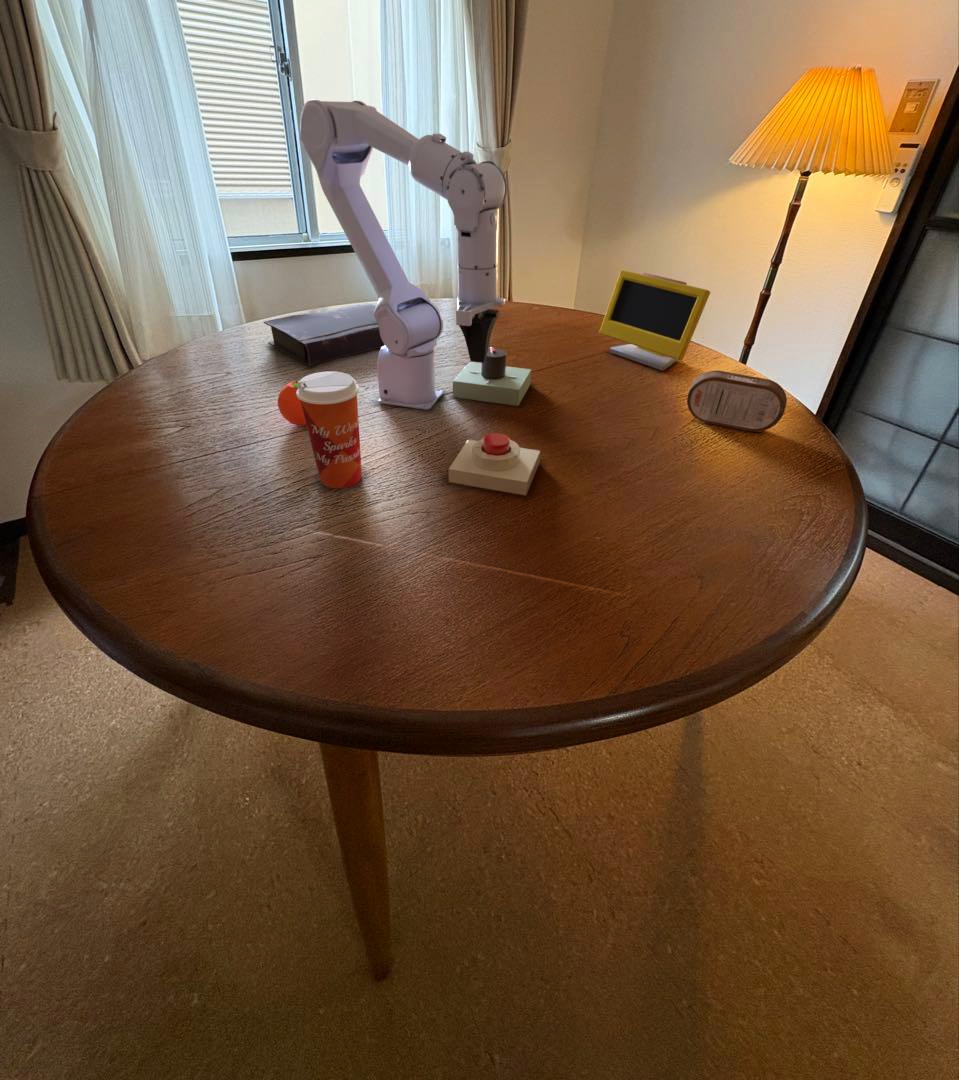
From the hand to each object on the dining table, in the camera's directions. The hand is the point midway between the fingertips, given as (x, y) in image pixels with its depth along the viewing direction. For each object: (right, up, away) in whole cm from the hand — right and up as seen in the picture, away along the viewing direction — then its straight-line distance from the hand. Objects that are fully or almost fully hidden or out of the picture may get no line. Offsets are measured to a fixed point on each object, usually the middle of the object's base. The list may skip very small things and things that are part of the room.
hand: (478, 360), depth 87 cm
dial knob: (+3, +2, +14) cm, 14 cm away
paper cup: (-19, -20, -9) cm, 29 cm away
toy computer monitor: (+35, +10, +31) cm, 48 cm away
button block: (+2, -18, -7) cm, 20 cm away
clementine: (-28, -10, +3) cm, 30 cm away
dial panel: (+3, -1, +16) cm, 16 cm away
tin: (+42, -9, +6) cm, 43 cm away
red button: (+3, -16, -10) cm, 19 cm away
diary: (-30, +15, +34) cm, 48 cm away
